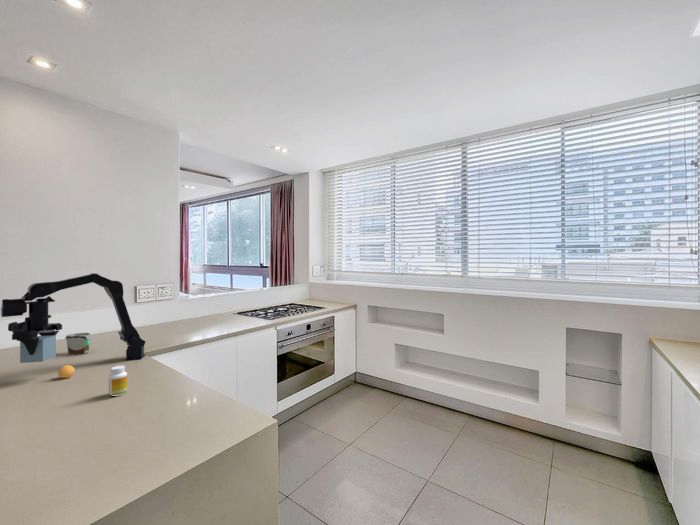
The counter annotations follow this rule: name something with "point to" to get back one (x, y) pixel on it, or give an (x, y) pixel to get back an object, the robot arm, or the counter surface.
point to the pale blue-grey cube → (39, 350)
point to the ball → (66, 371)
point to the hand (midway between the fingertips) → (38, 352)
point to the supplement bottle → (118, 381)
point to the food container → (78, 343)
